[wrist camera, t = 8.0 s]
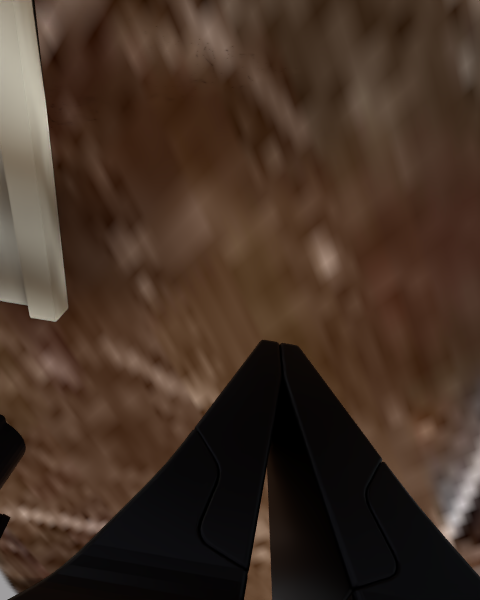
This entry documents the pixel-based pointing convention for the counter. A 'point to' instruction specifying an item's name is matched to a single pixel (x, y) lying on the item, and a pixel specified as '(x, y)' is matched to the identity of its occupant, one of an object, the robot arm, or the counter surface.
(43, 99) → the board
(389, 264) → the counter surface
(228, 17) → the counter surface
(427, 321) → the counter surface
